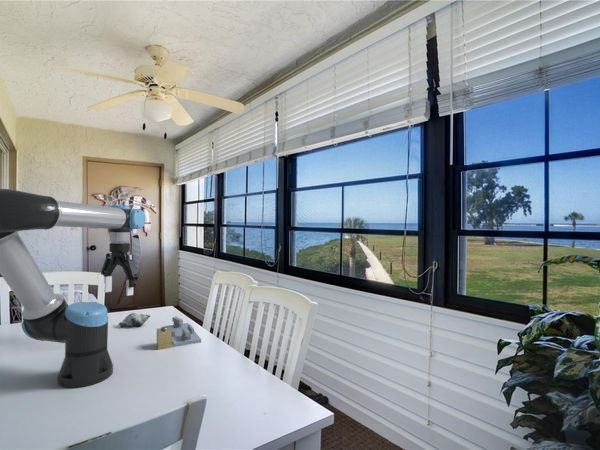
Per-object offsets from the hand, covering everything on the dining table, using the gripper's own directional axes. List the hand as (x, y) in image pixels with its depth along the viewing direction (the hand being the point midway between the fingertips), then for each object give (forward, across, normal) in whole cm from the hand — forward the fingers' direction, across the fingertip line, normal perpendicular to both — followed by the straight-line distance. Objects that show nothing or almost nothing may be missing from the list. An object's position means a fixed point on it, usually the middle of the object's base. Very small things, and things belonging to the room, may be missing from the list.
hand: (118, 293), depth 139 cm
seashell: (+21, +13, -18) cm, 31 cm away
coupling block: (+21, -20, -6) cm, 29 cm away
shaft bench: (+20, -16, -20) cm, 32 cm away
